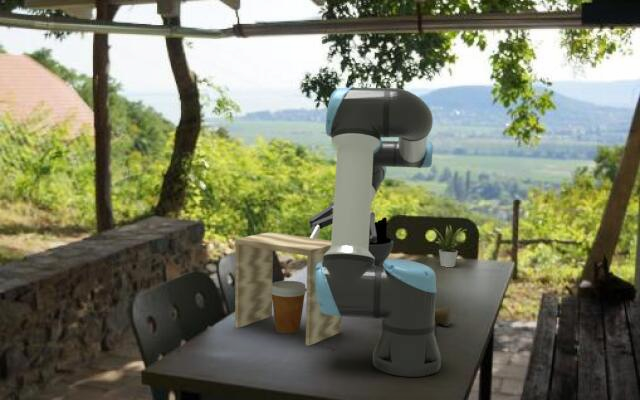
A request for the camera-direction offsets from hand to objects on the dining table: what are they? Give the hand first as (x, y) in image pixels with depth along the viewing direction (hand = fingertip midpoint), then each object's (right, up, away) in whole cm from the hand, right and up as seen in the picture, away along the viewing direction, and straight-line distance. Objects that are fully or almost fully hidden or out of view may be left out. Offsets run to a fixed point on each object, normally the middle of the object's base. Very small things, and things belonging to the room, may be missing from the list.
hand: (332, 250), depth 190 cm
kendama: (+26, -21, -6) cm, 34 cm away
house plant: (+46, -12, +72) cm, 87 cm away
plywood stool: (-12, -20, -10) cm, 25 cm away
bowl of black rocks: (+14, -11, +70) cm, 72 cm away
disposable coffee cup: (-12, -20, -10) cm, 26 cm away
